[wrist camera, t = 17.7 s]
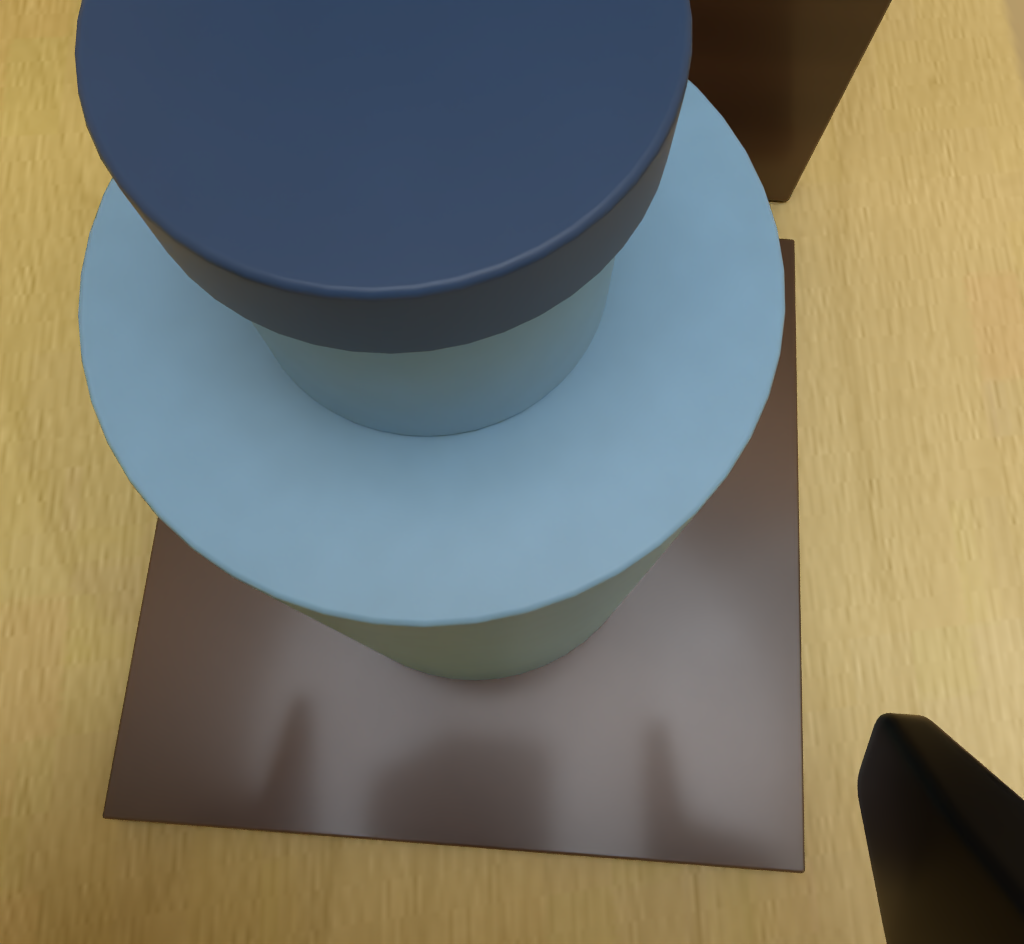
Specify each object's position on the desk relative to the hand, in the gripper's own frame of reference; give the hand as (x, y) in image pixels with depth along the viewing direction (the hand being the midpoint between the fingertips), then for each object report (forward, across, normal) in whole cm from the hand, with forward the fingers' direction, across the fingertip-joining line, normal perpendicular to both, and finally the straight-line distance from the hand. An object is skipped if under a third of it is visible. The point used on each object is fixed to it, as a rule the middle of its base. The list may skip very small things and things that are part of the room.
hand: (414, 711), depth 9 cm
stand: (+8, 0, +2) cm, 8 cm away
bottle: (+8, 0, +2) cm, 8 cm away
